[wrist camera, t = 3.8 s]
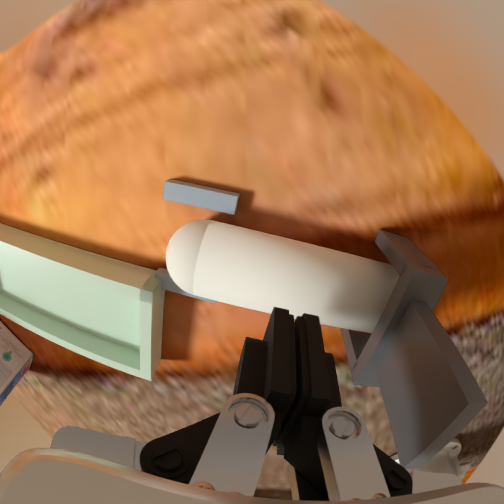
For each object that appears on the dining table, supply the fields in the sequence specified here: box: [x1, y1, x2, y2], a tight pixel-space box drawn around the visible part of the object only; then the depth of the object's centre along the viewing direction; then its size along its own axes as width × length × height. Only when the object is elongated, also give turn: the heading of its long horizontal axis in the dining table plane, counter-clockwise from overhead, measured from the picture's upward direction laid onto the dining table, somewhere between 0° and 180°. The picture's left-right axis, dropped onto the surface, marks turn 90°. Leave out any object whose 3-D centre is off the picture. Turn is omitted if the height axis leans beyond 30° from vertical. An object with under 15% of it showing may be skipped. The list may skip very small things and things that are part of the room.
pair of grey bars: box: [155, 179, 240, 303], centre depth 17 cm, size 4×7×1 cm, turn 168°
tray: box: [0, 223, 165, 381], centre depth 19 cm, size 19×8×2 cm, turn 78°
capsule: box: [166, 220, 399, 333], centre depth 16 cm, size 14×4×4 cm, turn 78°
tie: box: [340, 229, 487, 469], centre depth 12 cm, size 2×7×11 cm, turn 168°
